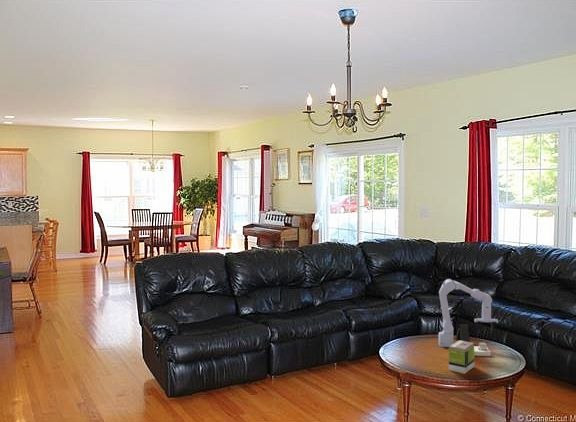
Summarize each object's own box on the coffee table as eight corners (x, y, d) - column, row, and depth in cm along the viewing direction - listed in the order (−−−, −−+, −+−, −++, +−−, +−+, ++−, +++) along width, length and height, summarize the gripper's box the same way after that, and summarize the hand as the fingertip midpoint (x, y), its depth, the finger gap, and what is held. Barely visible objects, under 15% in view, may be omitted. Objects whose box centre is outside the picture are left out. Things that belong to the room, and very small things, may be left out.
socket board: (464, 355, 339) (464, 351, 339) (460, 349, 350) (461, 345, 350) (490, 356, 337) (490, 352, 337) (486, 350, 348) (486, 346, 348)
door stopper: (470, 343, 364) (470, 325, 363) (462, 343, 363) (462, 326, 362) (462, 339, 373) (463, 322, 372) (455, 340, 371) (455, 322, 370)
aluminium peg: (479, 353, 342) (480, 344, 341) (478, 351, 345) (478, 342, 345) (486, 353, 341) (486, 344, 341) (484, 351, 345) (485, 342, 345)
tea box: (458, 363, 324) (458, 339, 323) (474, 367, 318) (475, 342, 317) (448, 370, 313) (448, 345, 312) (464, 374, 306) (465, 348, 305)
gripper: (476, 313, 350) (475, 334, 351) (499, 314, 348) (498, 335, 349) (473, 311, 357) (473, 331, 358) (496, 311, 355) (495, 332, 356)
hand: (485, 333), depth 354 cm, fingers open, 7 cm apart
